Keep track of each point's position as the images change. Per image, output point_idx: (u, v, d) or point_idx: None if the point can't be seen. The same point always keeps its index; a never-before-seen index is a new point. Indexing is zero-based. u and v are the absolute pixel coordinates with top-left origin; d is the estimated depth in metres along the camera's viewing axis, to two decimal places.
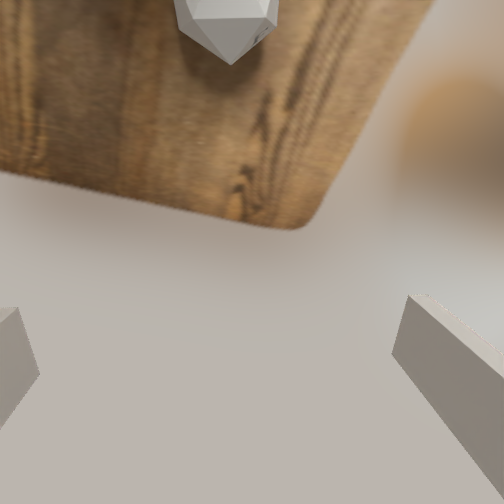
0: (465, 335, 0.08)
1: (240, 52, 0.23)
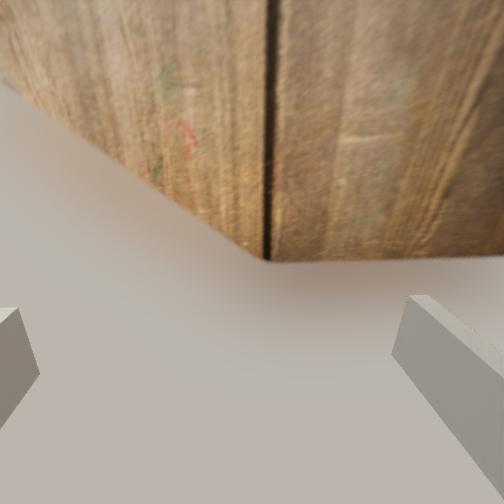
0: (465, 335, 0.08)
1: None
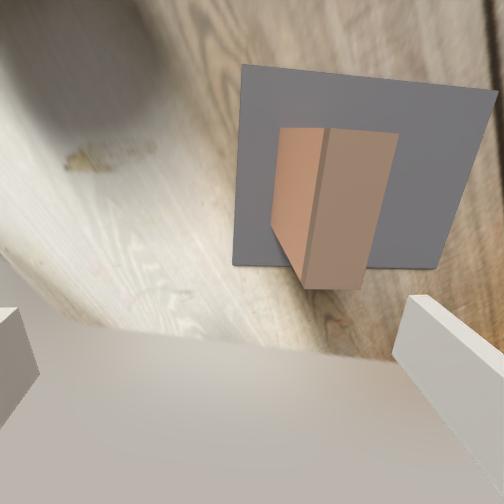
0: (465, 335, 0.08)
1: None
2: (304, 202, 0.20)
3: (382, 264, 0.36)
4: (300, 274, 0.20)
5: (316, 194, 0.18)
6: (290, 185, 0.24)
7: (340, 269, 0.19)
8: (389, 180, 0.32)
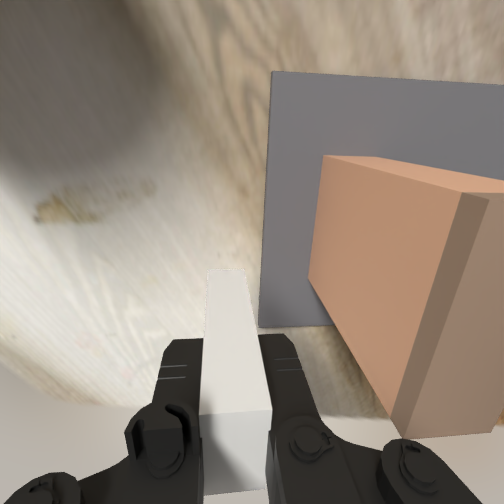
0: (237, 298, 0.10)
1: None
2: (396, 294, 0.12)
3: None
4: (389, 405, 0.13)
5: (437, 302, 0.10)
6: (352, 247, 0.16)
7: (464, 410, 0.12)
8: None
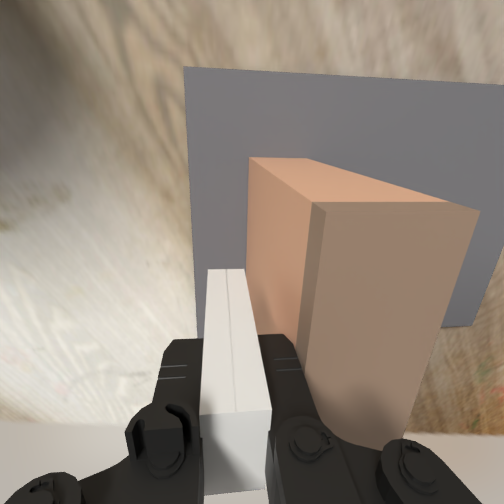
0: (237, 298, 0.10)
1: None
2: (283, 314, 0.11)
3: None
4: None
5: (302, 329, 0.09)
6: (263, 258, 0.15)
7: None
8: None
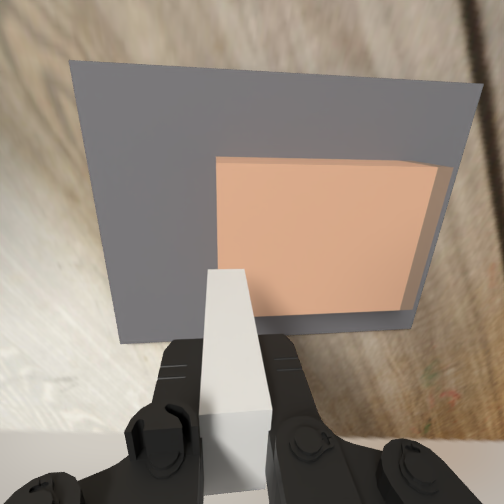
0: (237, 298, 0.10)
1: None
2: (393, 241, 0.19)
3: (335, 328, 0.26)
4: (397, 305, 0.21)
5: (428, 227, 0.19)
6: (327, 238, 0.18)
7: None
8: None
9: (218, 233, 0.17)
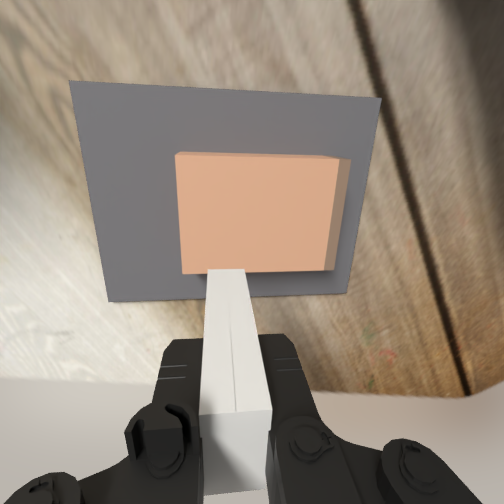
0: (237, 298, 0.10)
1: None
2: (312, 215, 0.25)
3: (283, 292, 0.32)
4: (321, 266, 0.27)
5: (337, 204, 0.25)
6: (261, 212, 0.24)
7: None
8: None
9: (179, 207, 0.23)
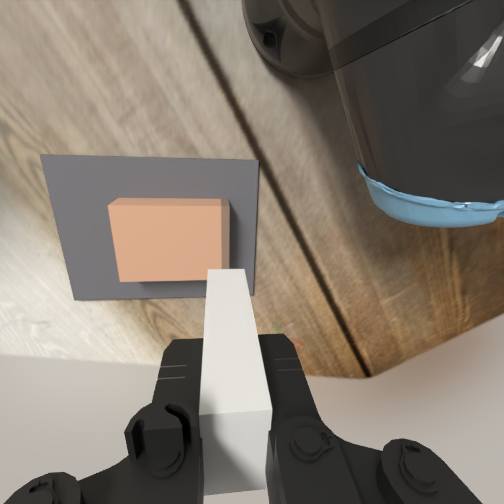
0: (237, 298, 0.10)
1: None
2: (208, 242, 0.36)
3: (204, 294, 0.44)
4: None
5: (224, 235, 0.36)
6: (171, 240, 0.36)
7: None
8: None
9: (113, 238, 0.35)
